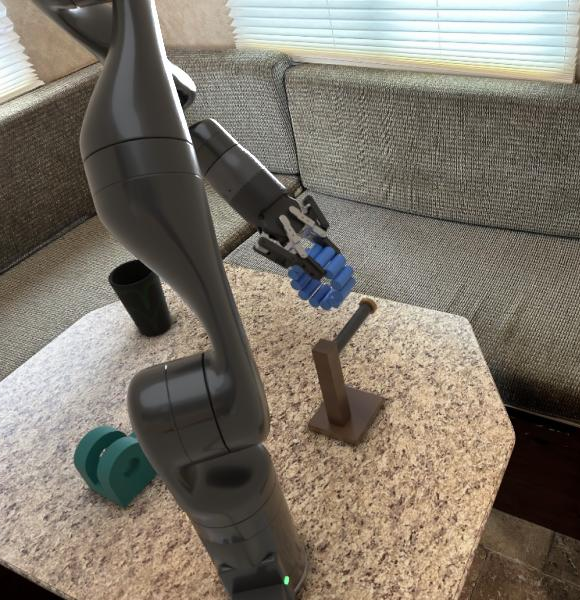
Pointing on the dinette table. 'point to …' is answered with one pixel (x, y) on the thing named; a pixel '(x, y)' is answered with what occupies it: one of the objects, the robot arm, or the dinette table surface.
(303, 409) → the dinette table surface
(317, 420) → the tape stand
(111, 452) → the bracket
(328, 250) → the blue ribbed cylinder bundle
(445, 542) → the dinette table surface
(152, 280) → the cup
